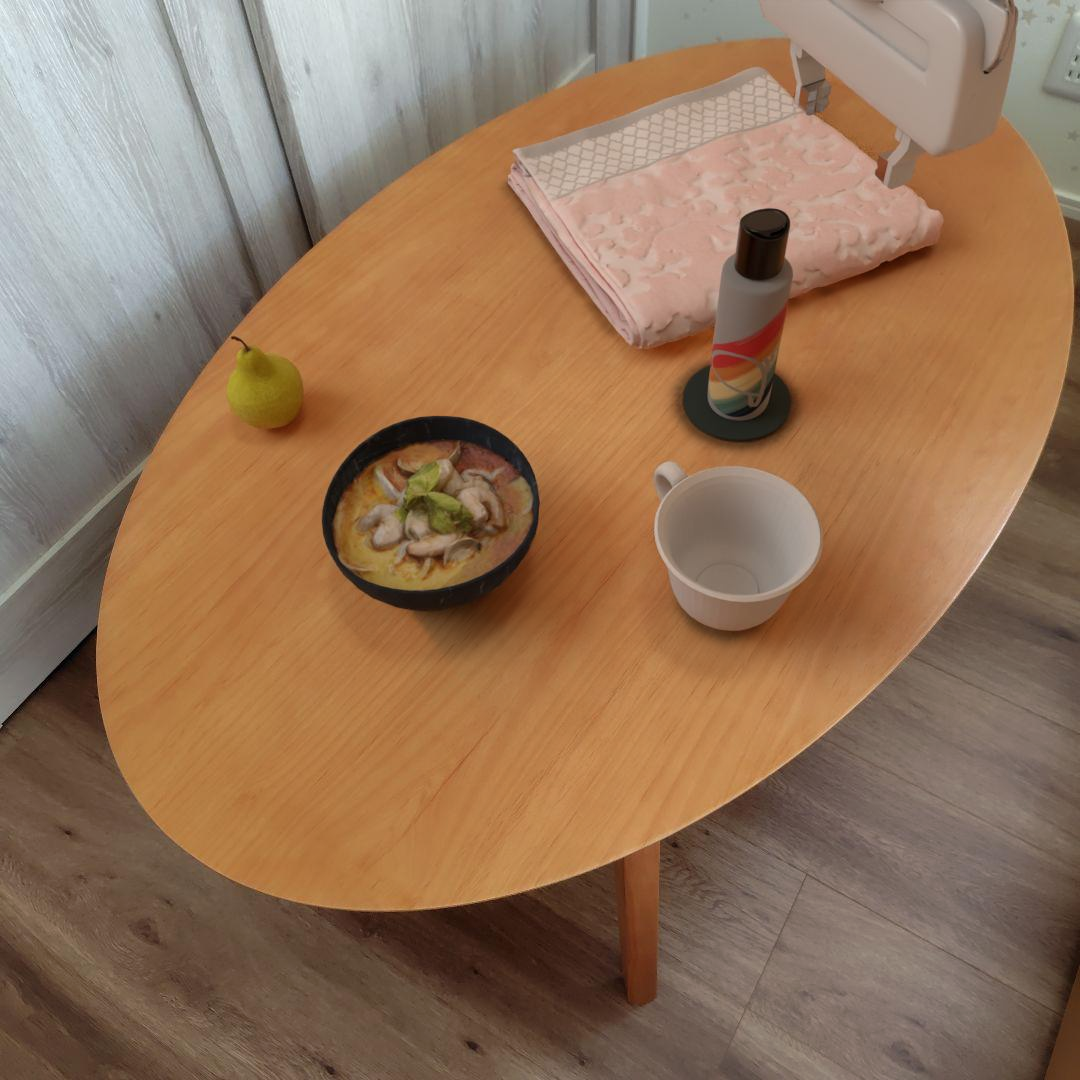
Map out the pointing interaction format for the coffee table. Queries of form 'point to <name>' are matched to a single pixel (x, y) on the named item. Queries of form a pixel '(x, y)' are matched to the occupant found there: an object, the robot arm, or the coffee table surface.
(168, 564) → the coffee table surface
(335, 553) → the bowl
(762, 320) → the lotion bottle
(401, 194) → the coffee table surface
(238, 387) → the fruit
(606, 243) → the towel
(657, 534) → the teacup
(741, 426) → the coaster
